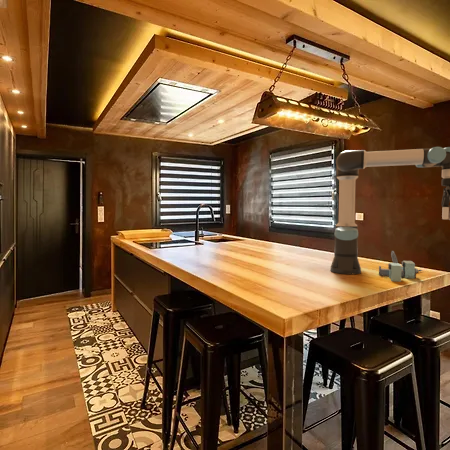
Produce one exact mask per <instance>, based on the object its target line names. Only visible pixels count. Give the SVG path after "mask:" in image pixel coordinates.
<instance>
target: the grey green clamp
mask: <svg viewBox="0 0 450 450" xmlns="http://www.w3.org/2000/svg"><path fill="white" fill-rule="evenodd" d="M401 266H402V267H403V270H401V278H405V279H414V280H415V279H416V278H417V273H416V269H417V268H416V264H415V262H413V261H412V260H402V261H401ZM389 270H390V269H389V268H382V266H381V265H378V275H379V276H383V277H389Z"/></svg>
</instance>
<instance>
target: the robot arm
mask: <svg viewBox="0 0 450 450" xmlns="http://www.w3.org/2000/svg"><path fill="white" fill-rule="evenodd" d="M335 160H336V161H335V164H336V179H337V180H338V182H339V183H338V185H339V186H338V193H339V194H338V221H337V224H335V230H334V233H333V234H334V249H333V250H334V256H333V260H332V262H331V265H330V272H332V273H336V274H343V275H359V274H361V272H362V268H361V264H360V261H359V258H358V255H359V254H358V253H359V252H358V250H359V229H358V224H356V222H355V221H356V219H355V215H356V182H357V181H356V180H357V179H359V174H360V173H359V172H360V171H359V170H364V169H365V168H367V167H369V168H372V167H390V166H393V167H395V166H415V167H416V168H421V169H422V168H435V167H436V168H440V167H441V178H442V179H441V187H443V190H442V191H443V193H442V199H441V207H442V210H441V211H442V213H441V214H442V215H441V217H442V218H441V219H442V220H449V219H450V146H447V147H442V146H433V147H431V148H416V149H415V148H414V149H412V148H411V149H398V150H397V149H395V150H377V151H366V150H365V149H361V150H360V149H357V150H356V149H354V150H353V149H350V150H349V149H347V150H344V151H342V152H340V153H339V154H338V156H337V157H336V159H335Z"/></svg>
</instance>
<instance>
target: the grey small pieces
mask: <svg viewBox="0 0 450 450" xmlns="http://www.w3.org/2000/svg"><path fill="white" fill-rule="evenodd" d="M390 256H391V261H392V263H399V261H398V257H397V255H396V253H395V251H394V250H391V253H390ZM401 270H403V267H402V268H401ZM423 271H424V270H422V269H418V268H416V274H417V273H419V272H423Z"/></svg>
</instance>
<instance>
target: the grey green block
mask: <svg viewBox="0 0 450 450" xmlns="http://www.w3.org/2000/svg"><path fill="white" fill-rule="evenodd" d="M401 268H402V264H400V263H399V262H398V263H393V262H389V263H388V267H387V269H390V270H389V276H388V277H389V279H390V282H397V283H398V282H400V283H401V282H402V277H401Z"/></svg>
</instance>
